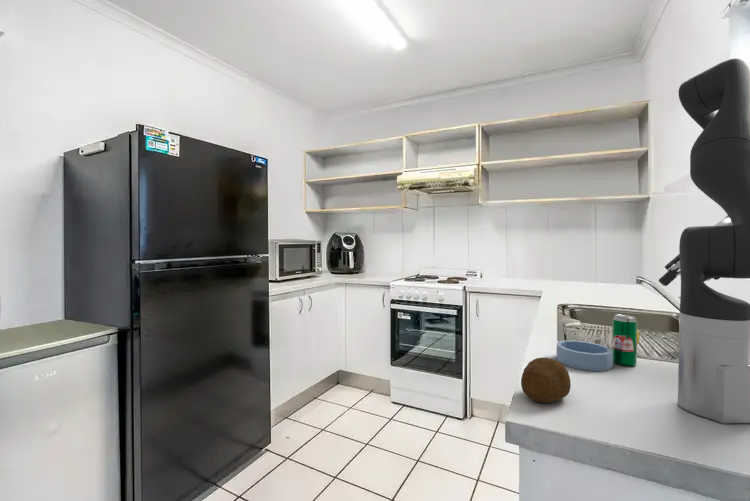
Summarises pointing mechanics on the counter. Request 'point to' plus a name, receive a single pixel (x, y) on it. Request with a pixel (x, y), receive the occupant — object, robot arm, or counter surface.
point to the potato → (545, 380)
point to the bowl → (584, 355)
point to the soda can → (624, 340)
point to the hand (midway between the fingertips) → (674, 285)
